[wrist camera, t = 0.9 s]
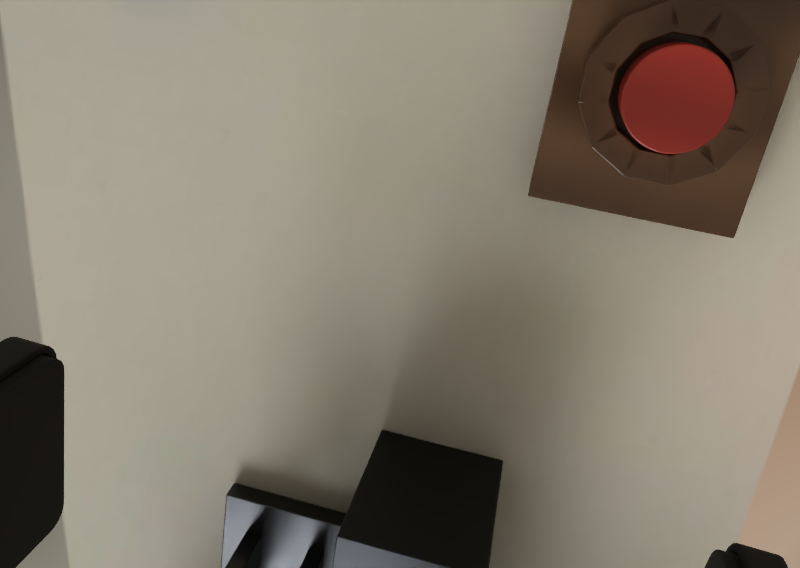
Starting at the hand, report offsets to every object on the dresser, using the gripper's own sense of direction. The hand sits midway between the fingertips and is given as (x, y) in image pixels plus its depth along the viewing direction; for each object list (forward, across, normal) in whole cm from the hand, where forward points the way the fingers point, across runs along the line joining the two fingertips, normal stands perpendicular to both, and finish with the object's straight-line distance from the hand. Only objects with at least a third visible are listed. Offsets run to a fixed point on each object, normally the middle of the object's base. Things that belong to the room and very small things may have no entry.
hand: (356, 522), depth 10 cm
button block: (+26, -6, -5) cm, 28 cm away
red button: (+23, -6, -5) cm, 24 cm away
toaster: (+27, -1, +24) cm, 36 cm away
